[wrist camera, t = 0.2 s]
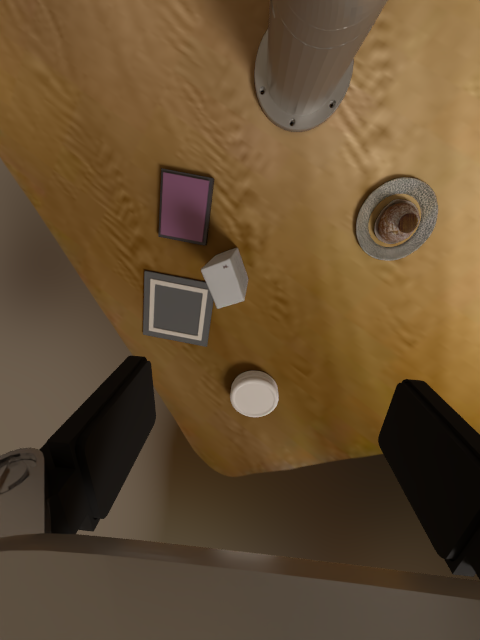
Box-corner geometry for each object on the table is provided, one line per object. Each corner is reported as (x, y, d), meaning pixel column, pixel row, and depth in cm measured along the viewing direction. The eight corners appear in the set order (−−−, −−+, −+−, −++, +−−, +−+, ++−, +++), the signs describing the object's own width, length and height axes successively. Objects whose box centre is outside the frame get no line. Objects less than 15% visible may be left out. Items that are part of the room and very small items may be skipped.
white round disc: (257, 413, 56) (256, 425, 53) (222, 390, 54) (220, 401, 51) (287, 387, 53) (289, 398, 49) (251, 360, 51) (250, 370, 47)
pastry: (337, 231, 40) (347, 233, 36) (395, 160, 36) (413, 152, 32) (390, 273, 42) (405, 279, 38) (451, 210, 38) (475, 209, 34)
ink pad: (163, 169, 38) (160, 167, 37) (214, 179, 38) (212, 177, 37) (160, 236, 42) (157, 236, 41) (206, 244, 42) (204, 245, 41)
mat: (145, 270, 45) (144, 271, 44) (215, 284, 45) (215, 284, 44) (144, 333, 50) (142, 334, 49) (206, 345, 50) (206, 347, 49)
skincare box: (214, 255, 43) (199, 268, 32) (237, 246, 42) (230, 257, 31) (227, 287, 45) (216, 309, 34) (249, 279, 44) (245, 300, 33)
